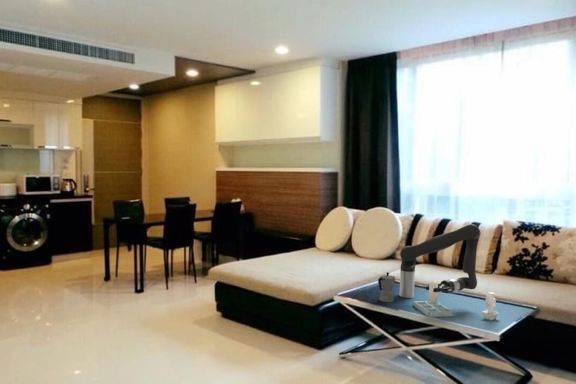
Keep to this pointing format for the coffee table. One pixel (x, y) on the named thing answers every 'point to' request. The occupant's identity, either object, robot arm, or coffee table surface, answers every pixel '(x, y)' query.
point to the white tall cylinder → (432, 295)
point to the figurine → (490, 307)
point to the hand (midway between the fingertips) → (430, 289)
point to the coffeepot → (386, 288)
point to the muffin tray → (432, 308)
